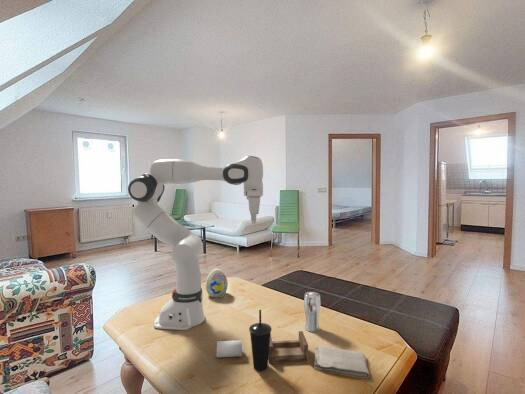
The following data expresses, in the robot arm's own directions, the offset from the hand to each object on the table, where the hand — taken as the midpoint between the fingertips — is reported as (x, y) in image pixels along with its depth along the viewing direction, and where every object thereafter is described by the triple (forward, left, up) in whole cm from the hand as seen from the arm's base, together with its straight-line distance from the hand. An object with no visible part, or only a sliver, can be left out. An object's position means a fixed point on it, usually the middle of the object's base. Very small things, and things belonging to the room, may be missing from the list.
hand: (253, 222), depth 126 cm
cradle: (+11, -27, -46) cm, 54 cm away
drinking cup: (+1, -33, -46) cm, 57 cm away
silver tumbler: (+25, -10, -46) cm, 53 cm away
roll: (-10, -26, -43) cm, 51 cm away
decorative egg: (-20, +30, -46) cm, 58 cm away
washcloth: (+29, -34, -46) cm, 64 cm away
